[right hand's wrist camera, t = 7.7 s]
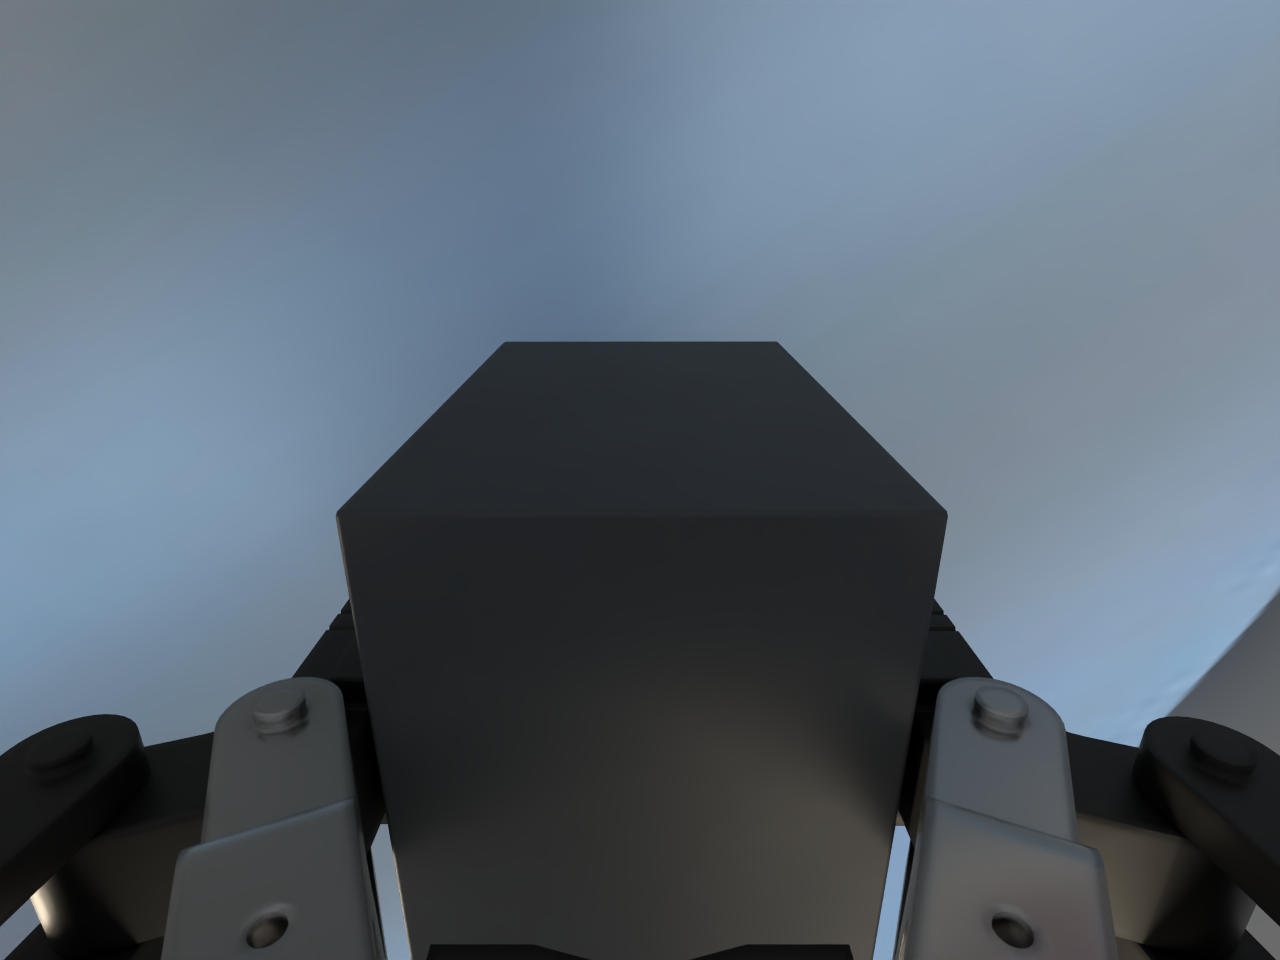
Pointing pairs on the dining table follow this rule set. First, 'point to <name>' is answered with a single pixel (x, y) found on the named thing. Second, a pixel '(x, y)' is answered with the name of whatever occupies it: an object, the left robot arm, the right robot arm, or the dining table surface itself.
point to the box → (641, 653)
